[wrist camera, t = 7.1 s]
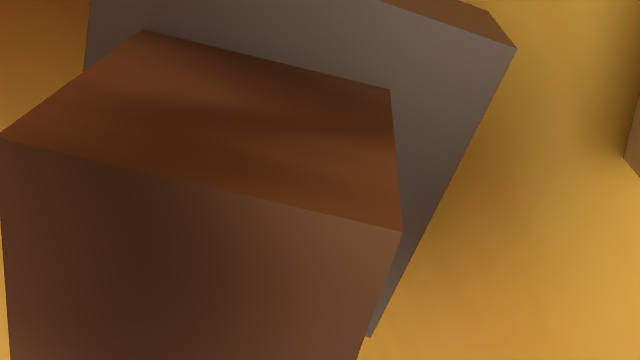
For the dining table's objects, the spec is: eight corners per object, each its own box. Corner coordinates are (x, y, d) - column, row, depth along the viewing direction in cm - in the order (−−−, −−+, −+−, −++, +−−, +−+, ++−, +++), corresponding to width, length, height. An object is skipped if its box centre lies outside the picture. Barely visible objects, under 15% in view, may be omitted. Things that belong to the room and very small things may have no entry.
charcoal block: (484, 7, 14) (517, 48, 11) (370, 255, 18) (370, 337, 15) (164, -106, 13) (100, -96, 10) (119, 178, 17) (64, 247, 14)
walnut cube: (389, 89, 11) (403, 232, 7) (331, 279, 14) (314, 472, 9) (142, 28, 11) (-5, 136, 7) (128, 232, 13) (14, 408, 9)
